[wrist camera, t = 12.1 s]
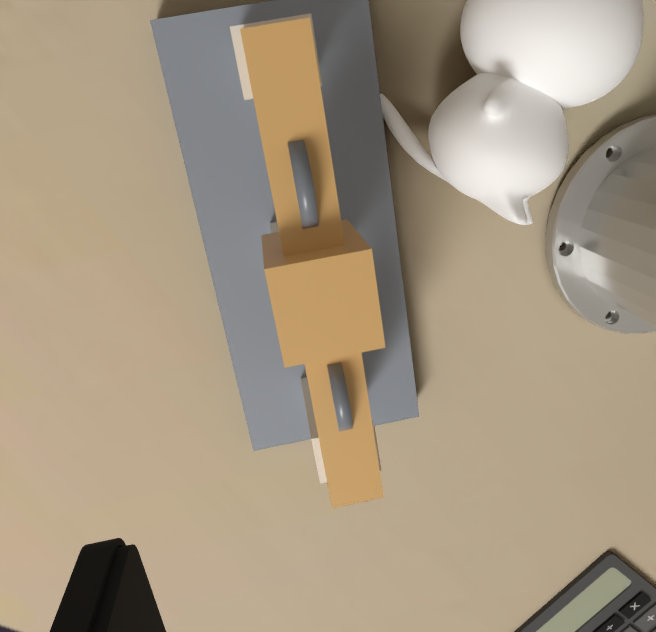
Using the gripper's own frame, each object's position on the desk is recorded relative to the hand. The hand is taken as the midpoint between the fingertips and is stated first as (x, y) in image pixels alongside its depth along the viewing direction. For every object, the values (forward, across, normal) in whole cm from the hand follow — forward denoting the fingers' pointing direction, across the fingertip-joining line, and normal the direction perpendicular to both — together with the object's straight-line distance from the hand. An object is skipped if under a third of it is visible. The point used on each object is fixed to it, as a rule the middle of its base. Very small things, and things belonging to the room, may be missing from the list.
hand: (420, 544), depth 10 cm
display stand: (+24, 0, 0) cm, 24 cm away
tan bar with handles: (+19, 0, 0) cm, 19 cm away
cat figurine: (+24, -10, -7) cm, 27 cm away
